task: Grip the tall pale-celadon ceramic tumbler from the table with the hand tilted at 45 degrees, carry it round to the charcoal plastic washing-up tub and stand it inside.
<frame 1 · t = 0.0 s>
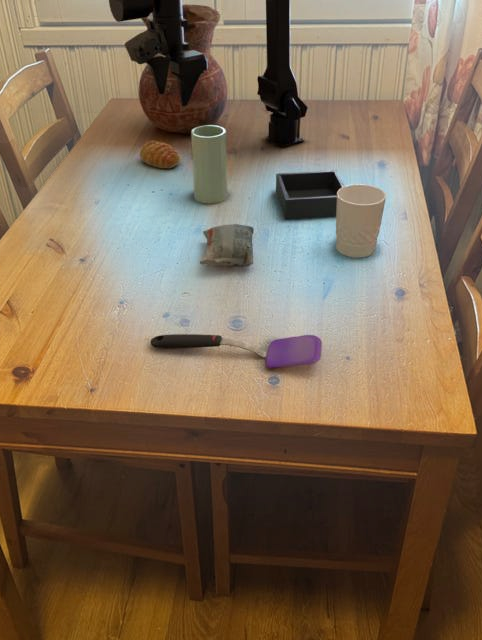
hand: (172, 99, 137), 15 cm above the table, tool pointing down, fingers open, 9 cm apart
pastry: (161, 162, 150), on the table
tub: (310, 204, 132), on the table
spatula: (234, 353, 96), on the table
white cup: (355, 249, 118), on the table
tumbler: (210, 196, 136), on the table
jug: (185, 125, 168), on the table
packaged food: (226, 259, 117), on the table
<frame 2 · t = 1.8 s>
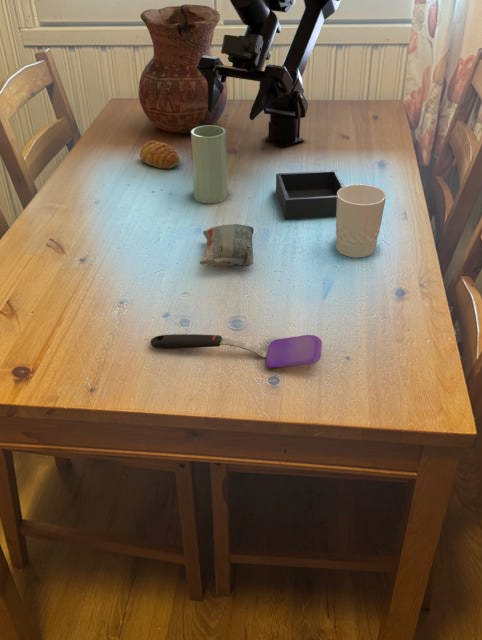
hand: (229, 115, 133), 13 cm above the table, tool tilted 45°, fingers open, 9 cm apart
nothing on the table moved.
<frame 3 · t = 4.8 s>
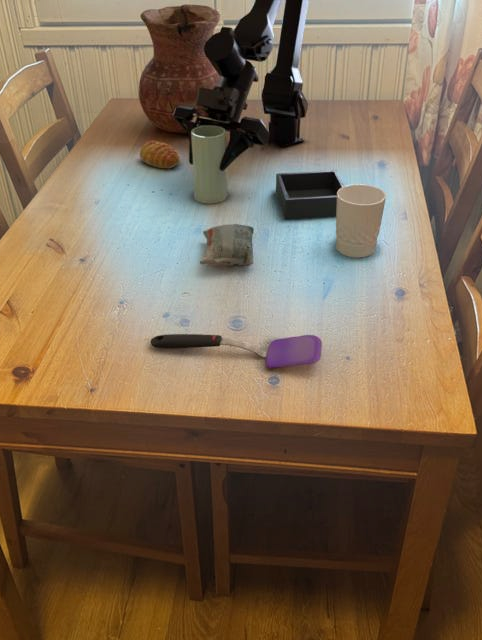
hand: (205, 166, 131), 7 cm above the table, tool tilted 45°, fingers closed on tumbler, 6 cm apart
tumbler: (210, 196, 136), on the table, touching gripper
everything else where it was.
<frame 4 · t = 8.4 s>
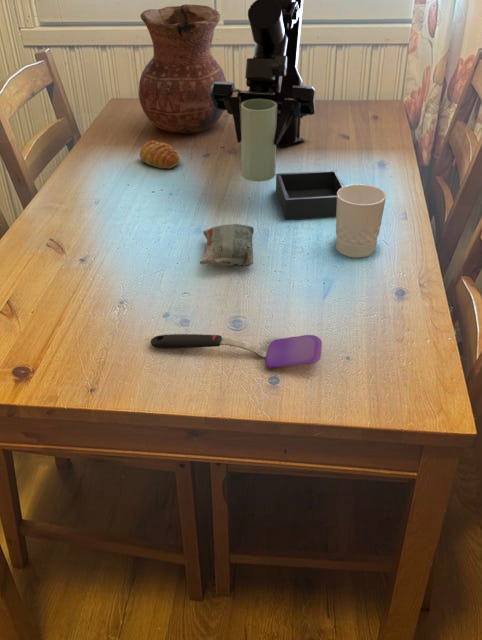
hand: (256, 142, 124), 12 cm above the table, tool tilted 45°, fingers closed on tumbler, 6 cm apart
tumbler: (258, 174, 129), point 6 cm above the table, touching gripper
everything else where it was.
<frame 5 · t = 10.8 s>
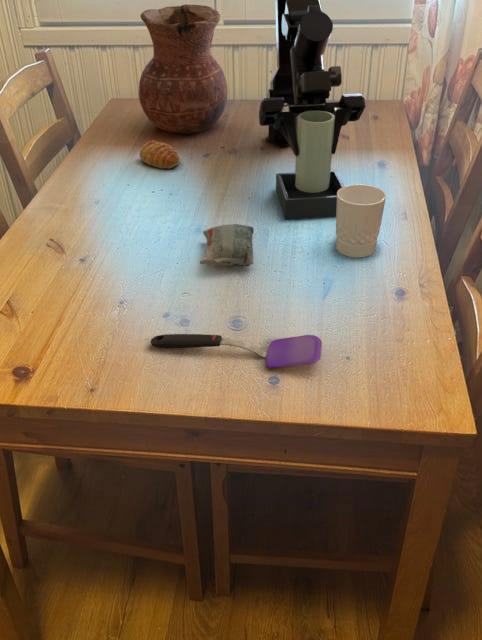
hand: (315, 154, 125), 10 cm above the table, tool tilted 45°, fingers closed on tumbler, 6 cm apart
tumbler: (311, 185, 130), point 4 cm above the table, touching gripper
everything else where it was.
when the fingers open (7 cm above the table, at t = 12.3 s): tumbler stays where it is, resting on tub.
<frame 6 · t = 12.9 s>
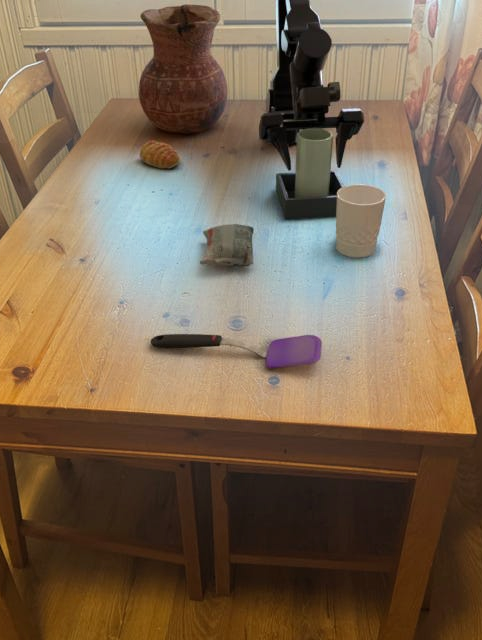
hand: (314, 168, 126), 8 cm above the table, tool tilted 45°, fingers open, 9 cm apart
tumbler: (310, 201, 132), point 1 cm above the table, touching tub
everything else where it was.
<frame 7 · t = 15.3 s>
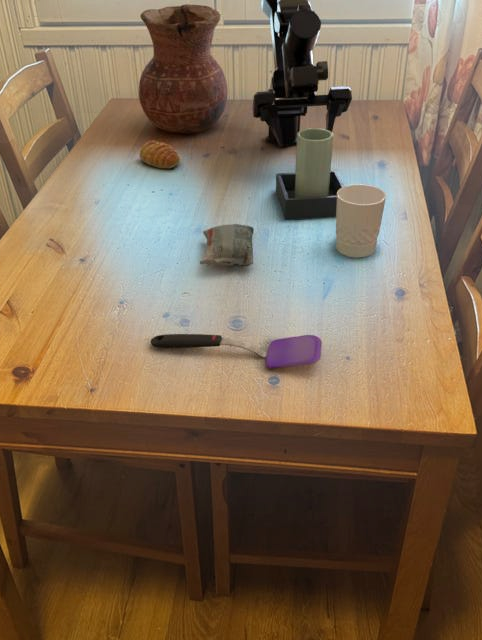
hand: (304, 144, 133), 9 cm above the table, tool tilted 45°, fingers open, 9 cm apart
nothing on the table moved.
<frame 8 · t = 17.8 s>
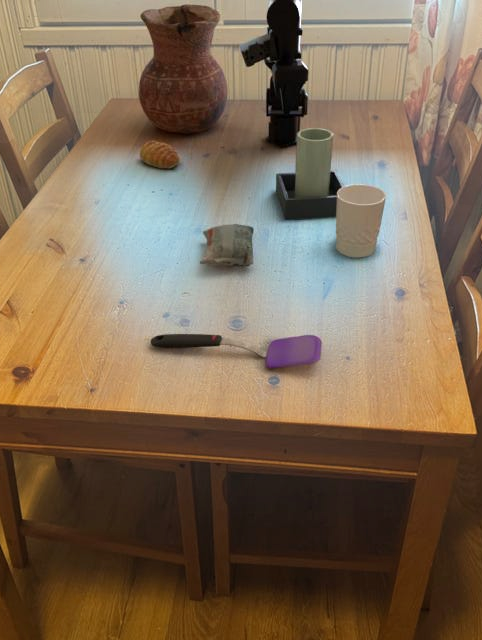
hand: (282, 106, 138), 13 cm above the table, tool pointing down, fingers open, 9 cm apart
nothing on the table moved.
at the end: tumbler inside the target area in the tub (0.0 cm from its centre), point 0.6 cm above the tub's base; tumbler tilted 0°; the gripper is holding nothing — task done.
